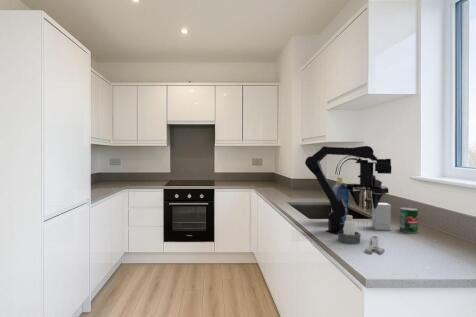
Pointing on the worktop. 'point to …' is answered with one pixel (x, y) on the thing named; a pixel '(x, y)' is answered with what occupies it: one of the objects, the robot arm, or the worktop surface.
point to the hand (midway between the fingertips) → (366, 207)
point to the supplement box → (381, 216)
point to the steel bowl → (349, 238)
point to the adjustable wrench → (374, 247)
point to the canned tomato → (408, 220)
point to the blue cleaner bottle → (341, 194)
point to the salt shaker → (349, 226)
